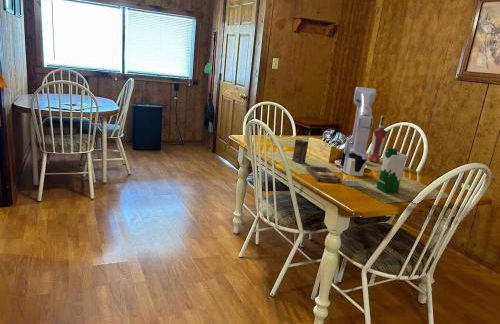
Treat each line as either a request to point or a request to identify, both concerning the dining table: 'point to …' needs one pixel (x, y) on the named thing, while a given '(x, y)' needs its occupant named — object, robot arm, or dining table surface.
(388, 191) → the milk carton
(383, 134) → the liquor
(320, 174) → the tan rectangular block
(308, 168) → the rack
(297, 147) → the box
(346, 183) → the mat
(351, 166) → the cream rectangular prism
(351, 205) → the dining table surface
